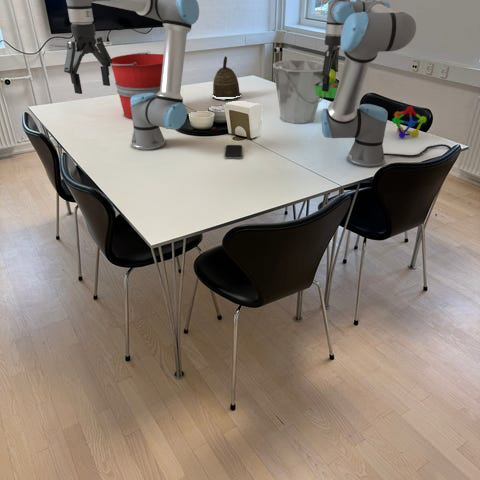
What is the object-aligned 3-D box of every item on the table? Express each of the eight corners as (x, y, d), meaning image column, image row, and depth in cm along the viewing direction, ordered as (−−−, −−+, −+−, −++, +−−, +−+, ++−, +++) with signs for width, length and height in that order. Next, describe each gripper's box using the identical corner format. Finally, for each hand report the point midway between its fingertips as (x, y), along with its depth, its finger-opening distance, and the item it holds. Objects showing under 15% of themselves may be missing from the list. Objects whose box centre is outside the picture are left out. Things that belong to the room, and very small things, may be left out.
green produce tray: (312, 96, 203) (314, 71, 197) (318, 91, 210) (321, 66, 203) (336, 99, 199) (339, 73, 193) (342, 94, 205) (345, 69, 199)
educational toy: (387, 140, 216) (390, 109, 209) (393, 133, 226) (396, 103, 219) (421, 142, 209) (425, 110, 202) (425, 135, 219) (429, 104, 212)
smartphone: (224, 157, 192) (226, 144, 205) (224, 158, 193) (226, 146, 205) (241, 157, 192) (242, 145, 205) (241, 158, 193) (242, 146, 205)
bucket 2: (298, 130, 226) (303, 73, 211) (259, 117, 244) (260, 64, 230) (335, 119, 242) (342, 65, 228) (296, 107, 261) (299, 57, 246)
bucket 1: (123, 104, 265) (116, 50, 249) (181, 105, 264) (178, 51, 248) (106, 122, 236) (97, 62, 220) (172, 123, 235) (167, 63, 219)
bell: (227, 105, 294) (202, 96, 282) (238, 66, 289) (213, 55, 277) (243, 108, 280) (217, 98, 268) (255, 66, 275) (229, 55, 263)
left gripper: (60, 27, 135) (74, 98, 146) (116, 20, 154) (125, 83, 165) (43, 26, 138) (58, 95, 149) (100, 19, 157) (109, 81, 168)
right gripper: (335, 38, 181) (329, 95, 193) (349, 32, 197) (342, 84, 209) (317, 37, 184) (312, 93, 196) (333, 31, 200) (327, 83, 212)
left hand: (93, 89), depth 157 cm, fingers open, 13 cm apart
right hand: (328, 88), depth 202 cm, fingers closed on green produce tray, 9 cm apart
